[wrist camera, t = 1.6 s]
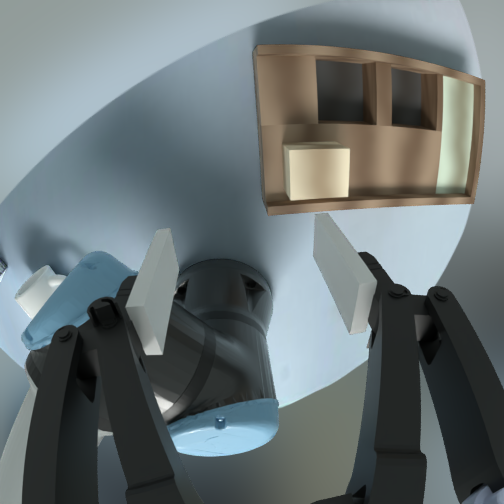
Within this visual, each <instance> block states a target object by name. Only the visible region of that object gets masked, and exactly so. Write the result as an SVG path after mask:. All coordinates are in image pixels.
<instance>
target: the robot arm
mask: <svg viewBox="0 0 504 504" xmlns="http://www.w3.org/2000/svg"><path fill="white" fill-rule="evenodd" d="M313 257H314V259H315V261H316V263H317V265H318V267H319V269H320V271H321V273H322V275H323V278H324V280H325V282H326V284H327V286H328V288H329V290H330V292H331V295H332V297H333V299H334V301H335V303H336V305H337V308H338V310H339V312H340V314H341V316H342V319H343V321H344V323H345V325H346V327H347V330H348V332H349V334H350V335H352V334H357V333H362V332H366V328H367V325H368V323H369V325H370V326H371V328H372V331H371V334H370V338H369V341H368V345H367V348H369V359H368V371H367V382H366V391H365V400H364V408H363V415H362V422H361V430H360V436H359V441H358V447H357V453H356V458H355V464H354V469H353V473H352V477H351V480H350V482H349V484H348V487H347V490H346V493H345V495H341V496H337V497H333V498H328V499H323V500H319V501H316V502H314V503H311V504H423V498H424V491H425V481H426V469H427V459H426V456H425V454H423V453H422V452H421V450H420V431H421V429H420V428H421V393H420V370H419V361H420V364H421V366H422V369H423V372H424V375H425V378H426V381H427V384H428V387H429V390H430V394H431V397H432V400H433V404H434V407H435V410H436V414H437V418H438V421H439V425H440V429H441V433H442V437H443V440H444V445H445V449H446V453H447V458H448V462H449V467H450V472H451V477H452V482H453V486H454V490H455V493H456V495H457V498H458V501H459V503H460V504H504V389H503V387H502V385H501V382H500V380H499V378H498V376H497V374H496V372H495V369H494V367H493V365H492V363H491V361H490V359H489V357H488V355H487V353H486V351H485V349H484V347H483V346H482V343H481V341H480V340H479V338H478V336H477V334H476V332H475V330H474V329H473V327H472V325H471V323H470V321H469V320H468V318H467V316H466V315H465V313H464V312H463V309H462V308H461V306H460V304H459V303H458V301H457V300H456V298H455V296H454V295H453V294H452V292H451V291H449V290H448V289H446V288H443V287H440V286H434V287H431V288H430V289H429V290H428V293H427V296H424V295H412V294H411V293H410V291H409V290H408V289H407V288H406V287H404V286H402V285H400V284H394V282H393V281H392V280H391V278H390V277H389V276H388V274H387V273H386V272H385V270H384V269H382V266H381V265H380V264H379V262H378V261H377V260H376V259H375V257H374V256H372V255H371V254H369V253H368V252H359V253H357V252H356V250H355V249H354V248H353V246H352V245H351V243H350V242H349V241H348V239H347V238H346V237H345V235H344V234H343V233H342V231H341V230H340V229H339V227H338V226H337V225H336V223H335V222H334V221H333V219H332V218H331V217H330V215H329V214H328V213H321V214H315V221H314V250H313ZM178 273H179V266H178V261H177V257H176V252H175V248H174V243H173V239H172V234H171V229H170V228H165V229H157V231H156V233H155V236H154V238H153V240H152V242H151V245H150V247H149V249H148V252H147V254H146V256H145V259H144V261H143V264H142V266H141V268H140V271H139V272H138V271H135V270H131V269H130V268H128V267H127V266H126V265H124V264H123V263H121V262H120V261H118V260H117V259H116V258H114V257H113V256H111V255H110V254H108V253H106V252H103V251H95V252H91V253H89V254H88V255H86V256H85V257H84V258H83V259H82V260H81V261H80V262H79V263H78V264H77V266H76V267H75V268H74V269H73V270H72V271H71V272H70V274H69V275H68V276H67V277H66V278H65V279H64V280H63V282H62V283H61V284H60V285H59V286H58V288H57V289H56V290H55V291H54V292H53V294H52V295H51V296H50V297H49V299H48V300H47V301H46V302H45V304H44V305H43V306H42V308H41V309H40V310H39V312H38V313H37V314H36V315H35V317H34V318H33V320H32V321H31V322H30V324H29V325H28V327H27V328H26V329H25V331H24V332H23V333H22V335H21V339H22V342H23V343H24V344H25V346H26V348H27V349H28V350H31V351H30V353H29V355H28V357H27V359H26V361H25V365H24V366H25V372H26V375H27V378H28V380H29V383H30V388H29V391H28V393H27V395H26V397H25V399H24V401H23V404H22V406H21V408H20V411H19V413H18V415H17V418H16V420H15V422H14V425H13V428H12V430H11V433H10V435H9V438H8V440H7V443H6V446H5V449H4V451H3V454H2V457H1V460H0V504H99V502H98V478H97V449H98V445H99V444H100V442H101V440H102V439H103V437H104V436H105V435H113V436H114V440H115V444H116V448H117V451H118V455H119V458H120V461H121V465H122V468H123V471H124V474H125V477H126V480H127V483H128V489H127V490H126V493H125V494H126V500H127V504H204V503H203V501H202V500H201V498H200V497H199V495H198V494H197V492H196V490H195V488H194V486H193V484H192V482H191V480H190V478H189V476H188V474H187V472H186V470H185V468H184V465H183V463H182V461H181V459H180V457H179V454H178V452H181V453H185V454H190V455H196V456H223V455H231V454H237V453H242V452H246V451H249V450H252V449H255V448H257V447H260V446H262V445H264V444H265V443H267V442H268V441H270V440H271V439H272V438H273V437H274V436H275V434H276V432H277V430H278V427H279V418H278V406H279V402H278V400H277V399H276V394H275V388H274V382H273V376H272V370H271V364H270V358H269V352H268V346H267V341H266V335H267V331H268V328H269V324H270V320H271V317H272V312H273V301H272V296H271V291H270V288H269V286H268V284H267V282H266V280H265V279H264V278H263V276H262V275H261V274H260V273H259V272H257V271H256V270H255V269H253V268H252V267H250V266H248V265H246V264H243V263H241V262H237V261H233V260H227V259H214V260H207V261H203V262H200V263H197V264H195V265H193V266H191V267H189V268H188V269H186V270H185V271H184V272H183V273H182V274H181V275H180V276H179V277H178ZM177 451H178V452H177Z"/></svg>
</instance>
